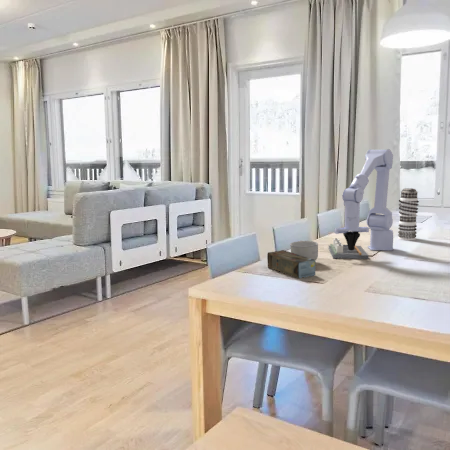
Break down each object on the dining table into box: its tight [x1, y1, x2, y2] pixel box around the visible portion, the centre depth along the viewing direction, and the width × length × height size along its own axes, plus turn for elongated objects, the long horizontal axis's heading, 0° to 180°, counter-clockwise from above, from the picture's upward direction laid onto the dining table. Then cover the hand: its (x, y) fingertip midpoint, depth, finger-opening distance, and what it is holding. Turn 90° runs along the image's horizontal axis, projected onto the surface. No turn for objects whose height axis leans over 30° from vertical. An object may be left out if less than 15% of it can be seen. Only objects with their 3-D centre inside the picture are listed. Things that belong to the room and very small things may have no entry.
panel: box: [327, 243, 369, 260], centre depth 197 cm, size 14×20×2 cm
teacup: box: [289, 240, 319, 261], centre depth 182 cm, size 14×11×8 cm
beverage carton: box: [267, 249, 317, 279], centre depth 168 cm, size 8×19×7 cm, turn 30°
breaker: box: [332, 237, 341, 247], centre depth 204 cm, size 2×4×3 cm, turn 173°
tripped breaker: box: [336, 243, 344, 253], centre depth 191 cm, size 2×4×3 cm, turn 173°
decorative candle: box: [397, 187, 420, 241], centre depth 228 cm, size 9×9×25 cm
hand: (351, 250), depth 190 cm, fingers closed
